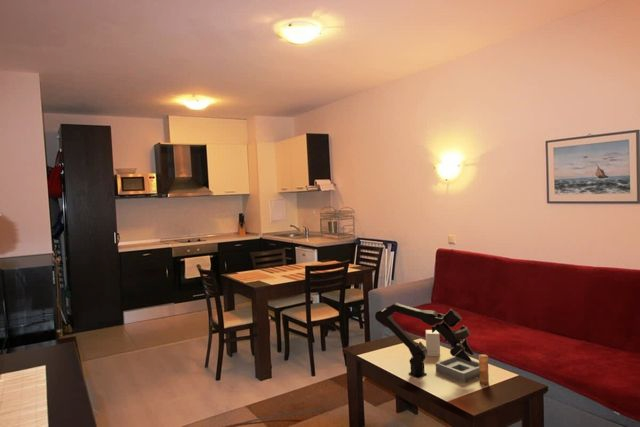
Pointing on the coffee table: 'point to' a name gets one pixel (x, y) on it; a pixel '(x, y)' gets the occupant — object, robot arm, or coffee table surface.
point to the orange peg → (483, 369)
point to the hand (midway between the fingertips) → (472, 357)
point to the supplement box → (432, 343)
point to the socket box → (452, 369)
